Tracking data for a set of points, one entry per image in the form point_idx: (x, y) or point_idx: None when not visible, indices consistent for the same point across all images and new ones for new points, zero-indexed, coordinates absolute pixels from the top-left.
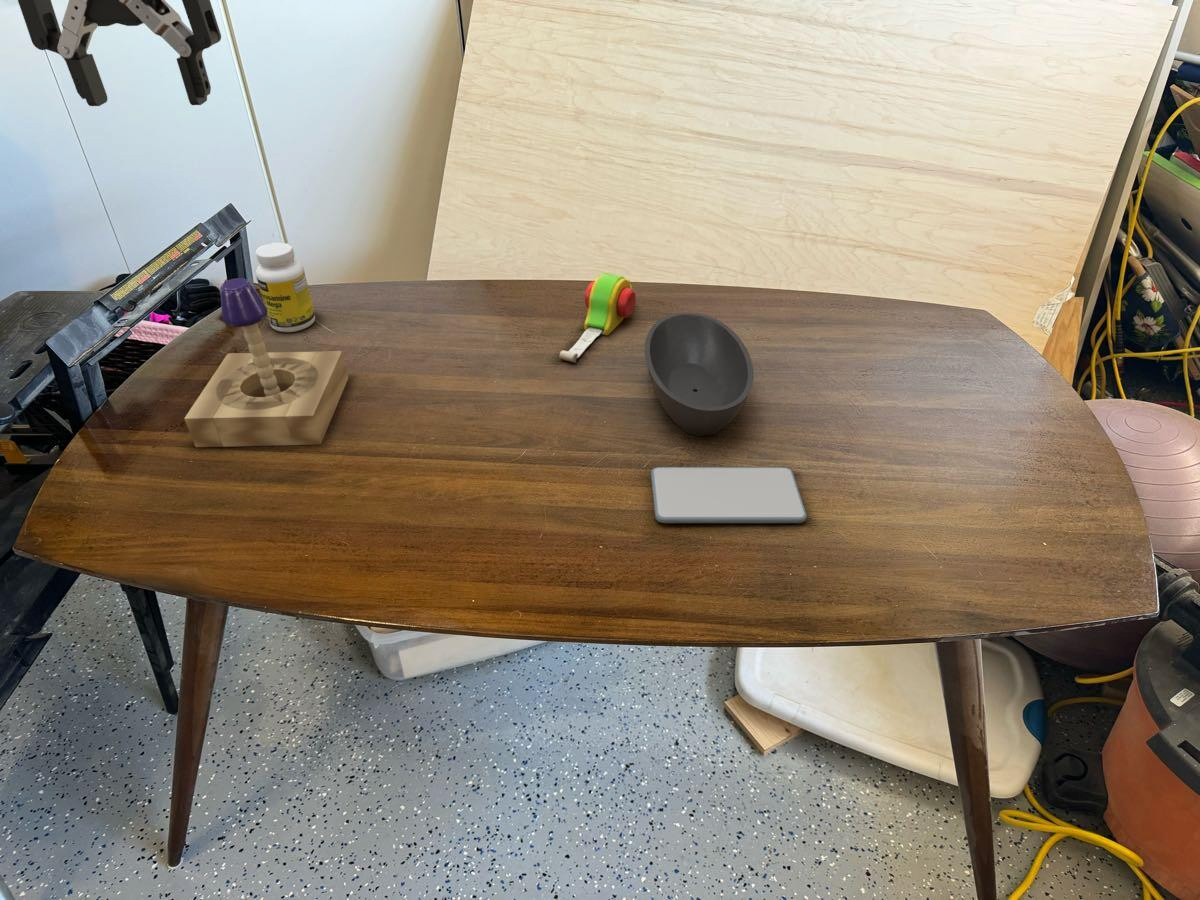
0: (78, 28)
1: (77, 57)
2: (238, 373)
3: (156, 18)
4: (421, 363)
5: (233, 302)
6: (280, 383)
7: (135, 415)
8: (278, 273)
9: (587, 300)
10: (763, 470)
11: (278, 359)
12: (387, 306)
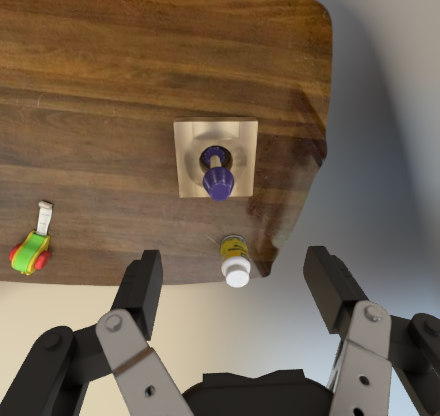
0: (346, 353)
1: (348, 308)
2: (238, 173)
3: (126, 388)
4: (141, 203)
5: (219, 176)
6: None
7: (300, 152)
8: (233, 262)
9: (43, 254)
10: None
11: None
12: (182, 260)
